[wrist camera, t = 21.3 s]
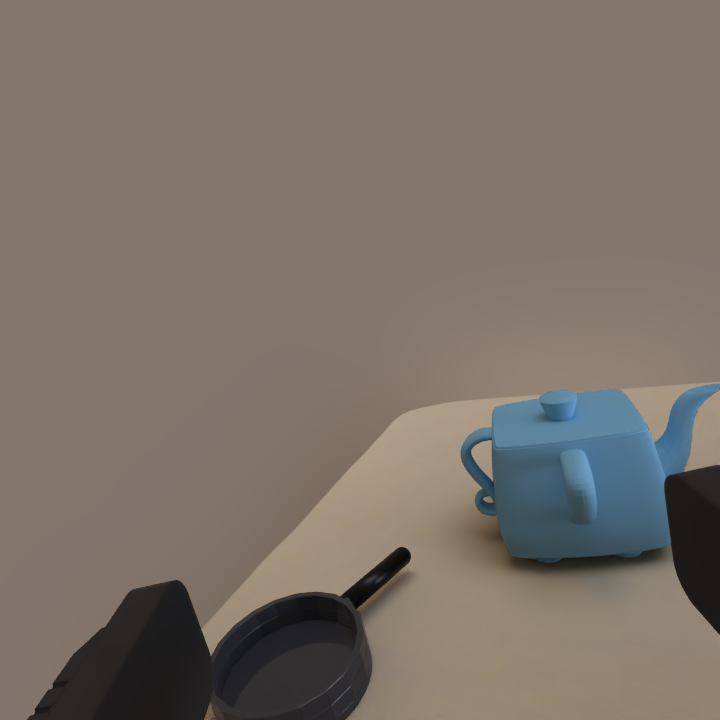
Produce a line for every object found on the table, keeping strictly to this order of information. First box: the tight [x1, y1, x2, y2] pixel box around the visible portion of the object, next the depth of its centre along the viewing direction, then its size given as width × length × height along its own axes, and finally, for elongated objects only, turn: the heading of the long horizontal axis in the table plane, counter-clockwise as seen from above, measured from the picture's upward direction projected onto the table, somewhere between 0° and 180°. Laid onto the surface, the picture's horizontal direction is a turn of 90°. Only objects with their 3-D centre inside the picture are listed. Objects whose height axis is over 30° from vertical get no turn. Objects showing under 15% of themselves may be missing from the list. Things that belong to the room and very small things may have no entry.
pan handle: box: [340, 547, 411, 609], centre depth 47 cm, size 9×2×2 cm, turn 134°
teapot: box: [461, 384, 720, 563], centre depth 48 cm, size 18×16×14 cm
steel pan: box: [210, 592, 372, 720], centre depth 40 cm, size 12×12×3 cm
